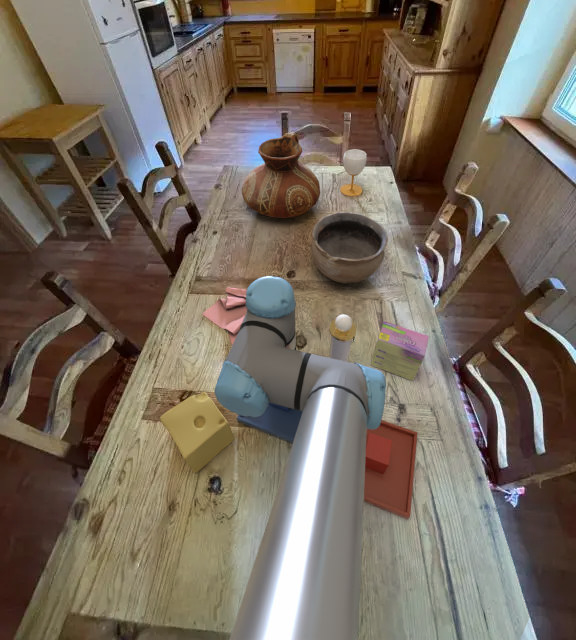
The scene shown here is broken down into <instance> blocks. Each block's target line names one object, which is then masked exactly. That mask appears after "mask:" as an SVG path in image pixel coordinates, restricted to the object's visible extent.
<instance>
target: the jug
mask: <svg viewBox="0 0 576 640" xmlns="http://www.w3.org/2000/svg"><path fill="white" fill-rule="evenodd" d="M257 152H258V154H259V157H260V158H261V159H262V161H263V163H262V164H260V165H258V166H256V167H255V168H254V169H253V170H252V171H250V172H249V173H248V175H247V176H246V177H245V178H244V181H243V184H242V186H241V187H242V188H241V195H242V199H243V202H244V204H246V205H247V207H249V208H250V209H251V210H252V211H254V212H256V213H258V214H261V215H262V216H265V217H271V218H279V219H287V218H288V219H289V218H294V217H295V218H296V217H299V216H301V215H303V214H305V213H307V212H309V211H311V209H312V208H313V207H315V206H316V205H317V203H318V201H319V198H320V196H321V187H320V181H319V179H318V177H317V176H316V175H315V173H314V172H313V171H312V169H311V168H309V167H308V166H307V165H305V164H304V163H302V162H301V161H299V158H300V157H301V156H302V153H303V147H302V146H301V144H300V142H299V137H298V135H297V134H296V133H293V132H285V133H284V135H282V136H281V137H276V138H270V139H267V140H264V142H262V143H261V144H260V145H259V147H258V151H257Z"/></svg>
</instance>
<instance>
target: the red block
mask: <svg viewBox="0 0 576 640" xmlns="http://www.w3.org/2000/svg"><path fill="white" fill-rule="evenodd" d="M391 445H392V441H391V440H389V439H386V438H383V437H380V436H377V435H375V434H372V433H369V434H368V437H367V439H366V457H365V467H366V468H369V469H371V470H374V471H376V472H379V473H382V474H384V472H385V471H386V469H387V467H388V466H389V460H390V452H391Z"/></svg>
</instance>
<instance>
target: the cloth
mask: <svg viewBox="0 0 576 640" xmlns="http://www.w3.org/2000/svg"><path fill="white" fill-rule="evenodd" d="M246 292H247V289H245V288H239V287H226V288H225V293H227V296H226V298H227V299H225V298H218V299H217V301H215V302H214V303H213V304H212V305H211V306H210V307H208V308H207V309H206V310H205V311H204V312H202V313H201V315H202V316H203V317H205V318H207V320H209V321H211V322H212V323H213V324H215V325H216V326H217V327H219V328H221V329H222V330H227V334H228V338H229V340H230V343H231V346H232V345H233V343H234V341H235V339H236V337H237V335H238V333H239V330H240V326H241V324H242V322H243V319H244V317H245V315H246V312H247V307H246Z"/></svg>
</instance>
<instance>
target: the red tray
mask: <svg viewBox="0 0 576 640" xmlns="http://www.w3.org/2000/svg"><path fill="white" fill-rule="evenodd" d="M369 433H372V434H375V435H377V436H380V437H383V438H386V439H389V440H391V441H392V445H391V452H390V460H389V466H388V467H387V469H386V471H385V472H384V474H382V473H379V472H376V471H374V470H371V469H369V468H366V467H365V482H364V503H367V504H369V505H371V506H374V507H376V508H379V509H382V510H384V511H387V512H388V513H391V514H393V515H396V516H398V517H400V518H403V519H406V520H409V519H410V518H411V509H412V498H413V489H414V477H415V465H416V455H417V443H418V433H419V432H417V431H414V430H412V429H409V428H405V427H403V426H400V425H397V424H394V423H391V422H388V421H386V420H383V419H382V420H381V423H380V426H379V427H378V428H377V429H374V430H372V429H367V432H366V439H367V437H368V434H369Z"/></svg>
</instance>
